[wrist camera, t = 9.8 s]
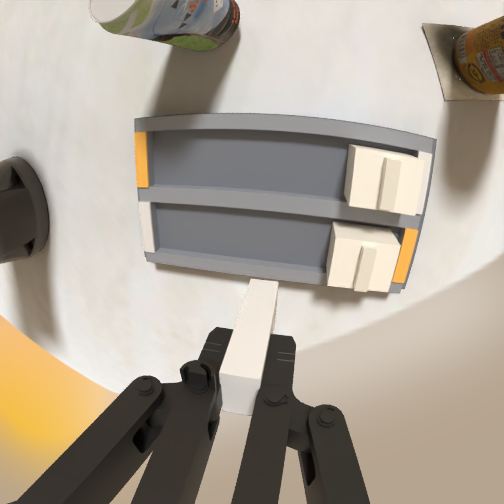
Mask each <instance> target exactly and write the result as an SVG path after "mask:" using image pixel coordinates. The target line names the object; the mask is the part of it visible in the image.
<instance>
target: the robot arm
mask: <svg viewBox="0 0 504 504" xmlns="http://www.w3.org/2000/svg"><path fill="white" fill-rule="evenodd" d="M48 227H49V222H48V211H47V205H46V200H45V196H44V193H43V190H42V187H41V184H40V182H39V179H38V177H37V175H36V173H35V172H34V170H33V169H32V167H31V166H30V165H29V164H28V163H27V162H26V161H25V160H24V159H22V158H20V157H12V158H9V159H6V160H3V161H1V162H0V264H1V263H6V262H11V261H16V260H21V259H26V258H29V257H31V256H33V255H34V254H36V253H37V252H39V251H40V250H41V249H42V248H43V247H44V245H45V243H46V240H47V236H48ZM278 285H279V282H277V281H268V280H259V279H251V280H250V283H249V286H248V288H247V291H246V294H245V297H244V300H243V303H242V306H241V309H240V312H239V315H238V318H237V321H236V324H235V327H234V330H233V329H227V328H220V327H216V328H215V329H214V330H213V331H211V332H210V333H209V335H208V337H207V340H206V343H205V344H204V347H203V350H202V351H201V354H200V356H199V358H198V360H193V361H189V362H187V363H185V364H184V365H183V366H182V367H181V368H180V373H181V377H182V381H181V382H178V383H160V381H159V380H158V379H157V378H156V377H153V376H141V377H138V378H136V379H135V380H134V381H133V382H132V383H131V384H130V385H129V386H128V387H127V388H126V389H125V390H124V391H123V392H122V393H121V394H120V395H119V396H118V397H117V398H116V399H115V400H114V401H113V402H112V404H111V405H110V406H108V408H107V409H106V410H105V411H104V412H103V413H102V414H101V415H100V416H99V417H98V418H97V419H96V420H95V421H94V422H93V423H92V424H91V425H90V426H89V427H88V428H87V429H86V430H85V431H84V432H83V433H82V435H80V437H78V439H76V441H75V442H74V443H73V444H72V445H71V446H70V447H69V448H68V449H67V450H66V451H65V452H64V453H63V454H62V455H61V456H60V457H59V458H58V459H57V460H56V461H55V462H54V463H53V464H52V465H51V466H50V467H49V468H48V469H47V470H46V471H45V472H44V474H42V476H41V477H40V478H39V479H38V480H37V481H36V482H35V483H34V484H33V485H32V486H31V487H30V488H29V489H28V490H27V491H26V492H25V493H24V494H23V495H22V496H21V497H20V498H19V499H18V500H17V501H14V502H12V503H8V504H109V503H110V502H111V501H112V500H113V499H114V497H115V496H116V495H117V494H118V493H119V492H120V490H121V489H122V488H123V487H124V485H125V484H126V483H127V482H128V481H129V480H130V478H131V477H132V476H133V475H134V473H135V472H136V471H137V470H138V469H139V467H140V466H141V465H142V464H143V462H144V461H145V460H146V459H147V457H148V456H149V455H150V453H151V452H152V451H153V452H152V455H151V457H150V459H149V462H148V464H147V467H146V469H145V471H144V474H143V476H142V478H141V481H140V483H139V485H138V488H137V490H136V493H135V495H134V497H133V500H132V502H131V504H194V503H195V500H196V497H197V494H198V491H199V488H200V484H201V481H202V478H203V474H204V471H205V468H206V465H207V461H208V458H209V455H210V452H211V448H212V445H213V441H214V439H215V435H216V432H217V429H218V425H219V419H220V417H219V414H220V411H221V407H222V411H225V412H231V413H236V414H243V415H249V416H252V418H251V423H250V428H249V432H248V436H247V441H246V445H245V449H244V453H243V458H242V462H241V466H240V470H239V474H238V478H237V483H236V486H235V491H234V494H233V498H232V502H231V504H278V499H279V493H280V487H281V480H282V474H283V467H284V460H285V453H286V446H288V447H290V448H293V449H295V450H298V456H299V461H300V467H301V472H302V478H303V483H304V488H305V494H306V500H307V504H370V501H369V498H368V494H367V491H366V487H365V484H364V481H363V477H362V474H361V470H360V467H359V463H358V460H357V457H356V453H355V450H354V447H353V443H352V440H351V437H350V434H349V431H348V428H347V424H346V421H345V418H344V415H343V414H342V412H341V411H340V410H339V409H338V408H337V407H335V406H332V405H319V406H316V407H315V408H314V407H311V406H309V405H306V404H304V403H301V402H300V401H299V400H298V399H296V397H295V396H294V394H293V391H292V384H293V374H294V362H295V351H296V344H295V341H294V339H293V337H292V336H284V335H276V334H273V330H274V324H275V316H276V306H277V296H278Z"/></svg>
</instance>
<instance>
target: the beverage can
mask: <svg viewBox="0 0 504 504" xmlns="http://www.w3.org/2000/svg"><path fill="white" fill-rule="evenodd" d="M89 13H90V16H91V17H92V19H93V20H94V21H96V22H98V23H99V24H100V25H101V26H102V27H103V28H104V29H105V30H106V31H108V32H110V33H113V34H119V35H125V36H131V37H137V38H142V39H147V40H152V41H157V42H162V43H166V44H170V45H174V46H178V47H182V48H186V49H190V50H194V51H208V50H212V49H215V48H217V47H219V46H221V45H222V44H224V43H225V42H226V41H227V40H229V39H230V37H231V36H232V35H233V34H234V32H235V31H236V29H237V27H238V24H239V20H240V11H239V7H238V5H237V3H236V2H235V0H89Z"/></svg>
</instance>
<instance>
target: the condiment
mask: <svg viewBox="0 0 504 504" xmlns="http://www.w3.org/2000/svg"><path fill="white" fill-rule="evenodd" d="M422 25H423V28H424V30H425V34H426V37H427V40H428V43H429V46H430V49H431V52H432V55H433V58H434V62H435V65H436V69H437V72H438V75H439V78H440V83H441V87H442V90H443V94H444V98H445V100H504V16H502V17H500V18H498V19H495V20H493V21H491V22H489V23H486V24H484V25H481V26H479V27H477V28H469V27H462V26H455V25H441V24H426V23H422ZM453 37H454V39H453ZM455 75H456V76H457V77H458V78H456V77H455ZM459 78H460V79H461V80H459Z"/></svg>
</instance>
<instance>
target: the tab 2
mask: <svg viewBox="0 0 504 504" xmlns="http://www.w3.org/2000/svg"><path fill="white" fill-rule="evenodd" d="M424 162H425V161H424V160H422V159H419V158H416V157H414V156H411V155H408V154H404V153H399V152H393V151H388V150H383V149H377V148H371V147H365V146H359V145H352V144H349V150H348V160H347V170H346V179H345V187H344V195H345V198H346V200H347V202H348V205H349V206H353V207H360V208H367V209H374V210H381V211H388V212H394V213H400V214H406V215H412V216H415V214H416V209H417V204H418V199H419V194H420V188H421V182H422V176H423V169H424Z"/></svg>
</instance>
